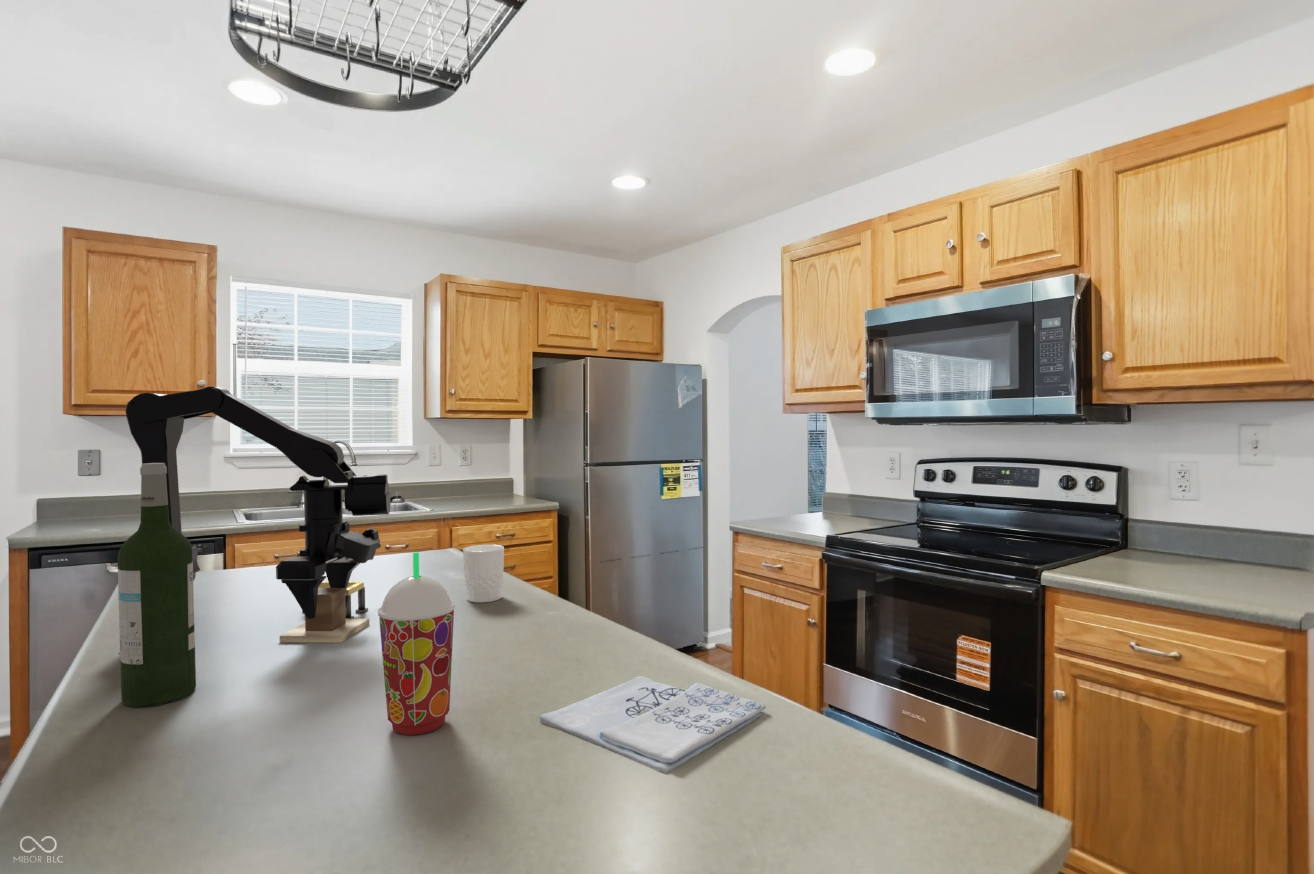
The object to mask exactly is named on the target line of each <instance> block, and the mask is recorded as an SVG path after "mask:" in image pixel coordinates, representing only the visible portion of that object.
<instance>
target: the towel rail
mask: <svg viewBox="0 0 1314 874" xmlns="http://www.w3.org/2000/svg"><path fill="white" fill-rule="evenodd" d="M318 588H330V585H329V582H328V580H327V581H325V580H324V581H323V582H322V583H321V584H320V585H319V587H318ZM354 593H357V606H358V607H357V609H355V614H366V613H367V612H368V611H369V608H368V607H366V587H365V582H363V581H356V580H355V581H350V580H349V582H348V586H347V589H346V593H345V612H346V619H355V616H354V615H352V595H353V594H354ZM301 611H302V614H304V612H303V610H302V609H301Z"/></svg>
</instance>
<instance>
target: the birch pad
mask: <svg viewBox="0 0 1314 874" xmlns="http://www.w3.org/2000/svg"><path fill="white" fill-rule="evenodd" d="M369 625H370V618H354V619H346V623H345V624H344V625H342V626H340V627H339V628H337V629H335V630H333V631H305V622H303V623H301V624H299V625H298V626H295V627H294V628H292V629H291V630H288V631H286V632H284V633H282V634H281V635H279V643H328V644H329V643H340V644H341V643H343V642H345V641H346V640H347V639H349V638H351V637H352V636H354V635H355V634H357V633H359V632H360V631H362V630H363V629H364V628H366V627H367V626H369Z"/></svg>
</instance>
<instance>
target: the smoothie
mask: <svg viewBox="0 0 1314 874" xmlns="http://www.w3.org/2000/svg"><path fill="white" fill-rule="evenodd" d="M412 557H413V558H412V565H413V566H412V574H413V575H412V576H408V577H406V578H403V579H401V580H400V581H398V582H397V583H395V584H394V585H393V586H392V587H391V588H390V589H389V590H388V592H387V594H386V595H385V597H384V599H383V601H382V603H381V604H382V605H381V607H379V608H378V610H377V616H379V633H380V642H381V653H382V654H381V657H382V666H383V679H384V681H383V682H384V689H385V701H386V702H385V704H386V715H387V721H388V722H389V723H391V725H392V730H393V731H394V732H395V733H398V734H400V735H406V736H417V735H418V736H419V735H423V734H428V733H431V732H433V731H435V730H437V729H439V728H440V727H442V726H443V725H444V723H445V721H446V716H447V715H448V714H449V712H450V706H451V705H450V704H451V685H452V684H451V683H452V682H451V681H452V662H453V660H452V659H453V637H454V618H455V617H454V616H455V611H454V610H455V607H456V604H455V603H454V601H452V599H451V598H450V595H449V593H448V591H447V589H446V588H445V586H443V584H441V582H439V581H437V580H436V579H434V578H432V577H429V576H427V575H425V576H424V575H420V552H416V551H415V552H412Z"/></svg>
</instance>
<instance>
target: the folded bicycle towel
mask: <svg viewBox="0 0 1314 874" xmlns="http://www.w3.org/2000/svg"><path fill="white" fill-rule="evenodd" d="M766 708H767V707H766V705H765V704H763V703H761V702H759V701H756V700H752V699H748V698H745V697H741V696H738V695H735V694H733V693H730V692H726V691H724V690H720V689H718V688H715V687H712V686H709V685H705V684H703V683H700V682H699V681H696V682H694V683H693V684H691V686H689V685H688V686H687V689H683V688H680V687H679V688H678V687H677V686H673V685H669V684H666V683H662V682H657V681H655V680H653V679H651V678H648V677H646V676H643V675H642V676H636V677H634V678H632V679H630V680H628V681H625V682H623V683H621V684H618V685H615V686H614V687H611V688H608V689H606V690H604V691H601V692H599V693H596V694H594V695H592V696H590V697H586V698H584V699H582V700H579V701H577V702H574V703H571V704H569V705H567V706H564V707H562V708H560V709H556V710H553V711H550V712H547V713H546V712H545V713H541V714H539V716H538V718H539V719H540V720H539V723H542V724H545V725H548V726H550V727H553V728H556V729H559V730H562V731H564V732H567V733H569V734H572V735H575V736H577V737H579V738H582V739H584V740H586V741H589V742H590V743H594V744H596V745H597V746H600V747H602V748H606V749H607V750H609V751H612V752H615V753H617V754H619V755H622V756H623V757H626V758H629V759H631V760H633V761H635V762H638V763H639V764H641V765H644V766H647V767H649V768H651V769H654V771H655V770H656V771H658V772H662V773H664V774H667V773H669V772H671V771H672V770H673V769H675V768H677V767H679V766H680V765H682V764H684V763H685V762H687V761H689V760H690V759H692V758H693V757H696V756H697V755H698V754H700V753H701V752H704V751H705V750H706V749H709V748H710V747H711V746H713V745H714V744H716V743H718V742H719V741H721V740H723V739H724V738H726V737H728V736H730V735H731V734H734V732H737V731H738V730H740V729H741V728H743V727H745V726H746V725H748V724H749V723H751V722H753V721H754V720H756V719H757V718H759V717H760V716H762V715H763V712H762V711H764V710H765V709H766ZM647 710H648V711H647ZM642 711H646V712H644V713H642V714H641V712H642ZM639 714H640V715H639Z"/></svg>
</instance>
